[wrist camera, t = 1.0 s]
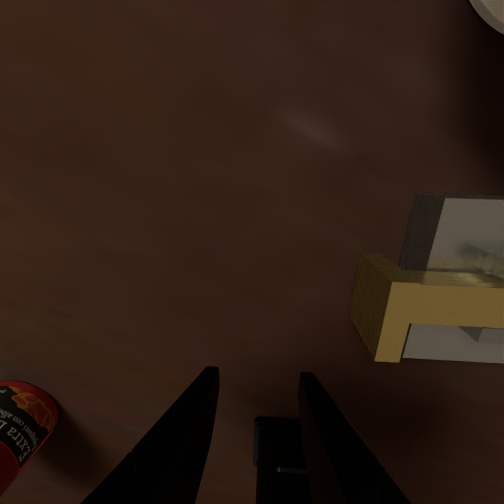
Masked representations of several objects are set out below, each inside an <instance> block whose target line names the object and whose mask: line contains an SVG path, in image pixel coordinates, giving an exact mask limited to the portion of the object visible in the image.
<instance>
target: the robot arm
mask: <svg viewBox="0 0 504 504" xmlns="http://www.w3.org/2000/svg"><path fill="white" fill-rule="evenodd" d="M218 395H219V368H218V367H215V366H207V367H206V368H205V369H204V370H203V371H202V372H201V373H200V375H199V376H198V377H197V378H196V379H195V380H194V381H193V382H192V383H191V385H190V386H189V387H188V388H187V389H186V390H185V391H184V392H183V393H182V395H181V396H180V397H179V398H178V399H177V400H176V401H175V402H174V403H173V405H172V406H171V407H170V408H169V409H168V410H167V411H166V412H165V413H164V415H163V416H162V417H161V418H160V419H159V420H158V421H157V422H156V423H155V425H154V426H153V427H152V428H151V429H150V430H149V431H148V432H147V433H146V435H145V436H144V437H143V438H142V439H141V440H140V441H139V442H138V443H137V445H136V446H135V447H134V448H133V449H132V452H129V453H128V454H127V455H126V457H125V458H124V459H123V460H122V461H121V462H120V463H119V464H118V465H117V466H116V468H115V469H114V470H113V471H112V472H111V473H110V474H109V475H108V476H107V477H106V478H105V479H104V480H103V481H102V482H101V483H100V484H99V485H98V486H97V487H96V488H95V489H94V490H93V491H92V492H91V493H90V494H89V495H88V496H87V497H86V498H85V499H84V500H83V501H82V502H81V503H80V504H195V501H196V497H197V493H198V489H199V486H200V482H201V478H202V474H203V470H204V467H205V463H206V459H207V455H208V451H209V447H210V443H211V439H212V433H213V427H214V421H215V414H216V408H217V401H218ZM298 397H299V411H300V420H294V419H280V418H266V417H257V418H256V419H255V424H254V453H253V465H254V466H256V467H257V484H256V504H412V503H411V502H410V500H409V499H408V498H407V497H406V495H405V494H404V493H403V492H402V490H401V489H400V488H399V486H398V485H397V484H396V482H395V481H394V480H393V478H392V477H391V476H390V474H389V473H388V472H386V469H385V468H384V467H383V465H382V464H381V463H380V461H379V460H378V459H377V457H376V456H375V455H374V453H373V452H372V451H371V449H370V448H369V447H368V445H367V444H366V443H365V441H364V440H363V439H362V437H361V436H360V435H359V433H358V432H357V431H356V429H355V428H354V427H353V425H352V424H351V423H350V421H349V420H348V419H347V417H346V416H345V415H344V413H343V412H342V411H341V409H340V408H339V407H338V406H337V404H336V403H335V402H334V400H333V399H332V398H331V396H330V395H329V394H328V392H327V391H326V390H325V388H324V387H323V386H322V384H321V383H320V382H319V380H318V379H317V378H316V376H315V375H314V374H313V373H311V372H301V374H300V381H299V390H298Z"/></svg>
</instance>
